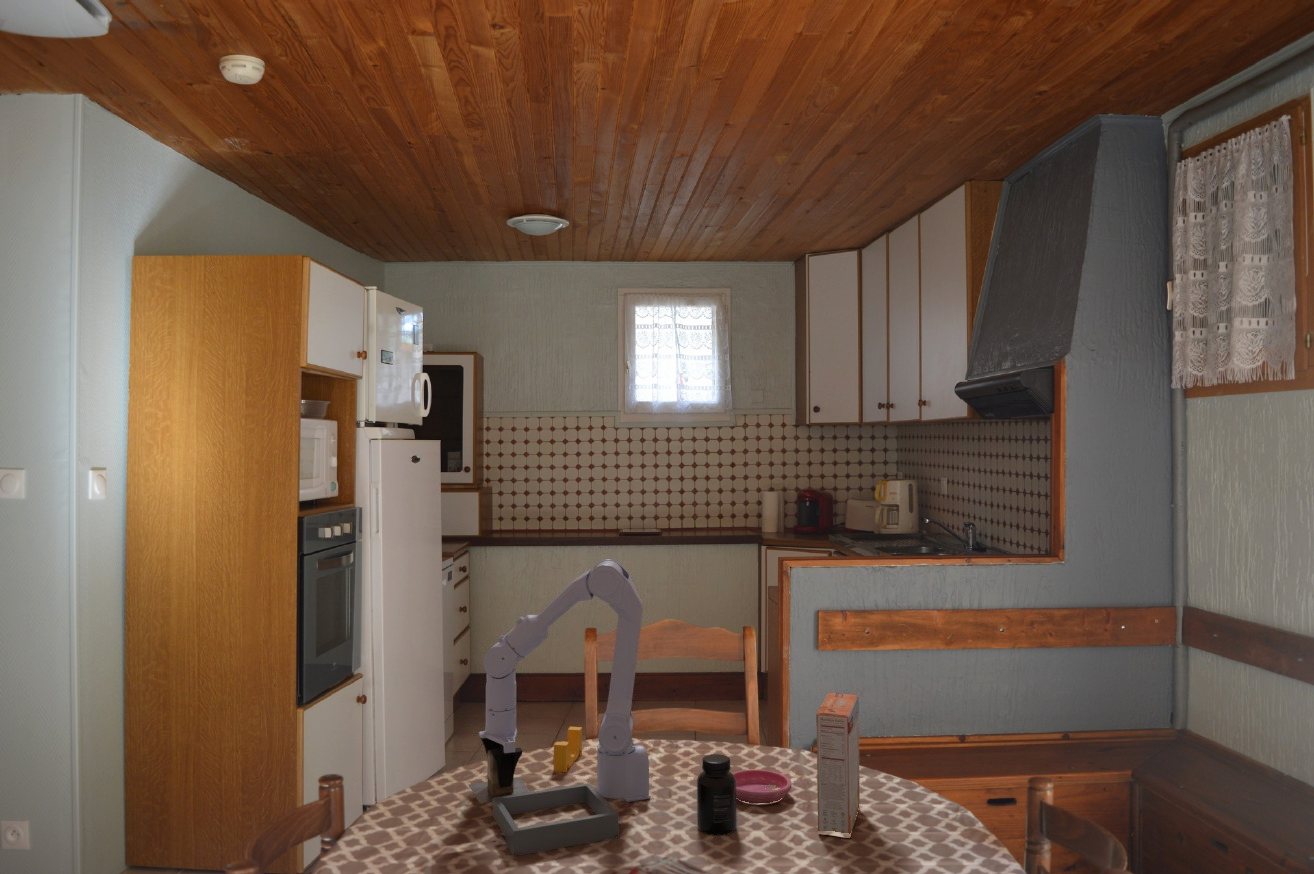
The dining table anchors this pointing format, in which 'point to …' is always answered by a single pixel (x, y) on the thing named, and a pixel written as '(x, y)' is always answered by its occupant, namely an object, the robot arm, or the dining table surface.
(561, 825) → the bin
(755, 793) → the saucer
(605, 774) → the robot arm
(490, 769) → the small brown box
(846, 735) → the cracker box
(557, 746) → the yellow u-shaped block
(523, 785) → the stud plate
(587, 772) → the dining table surface
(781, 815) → the dining table surface
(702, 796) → the supplement bottle
